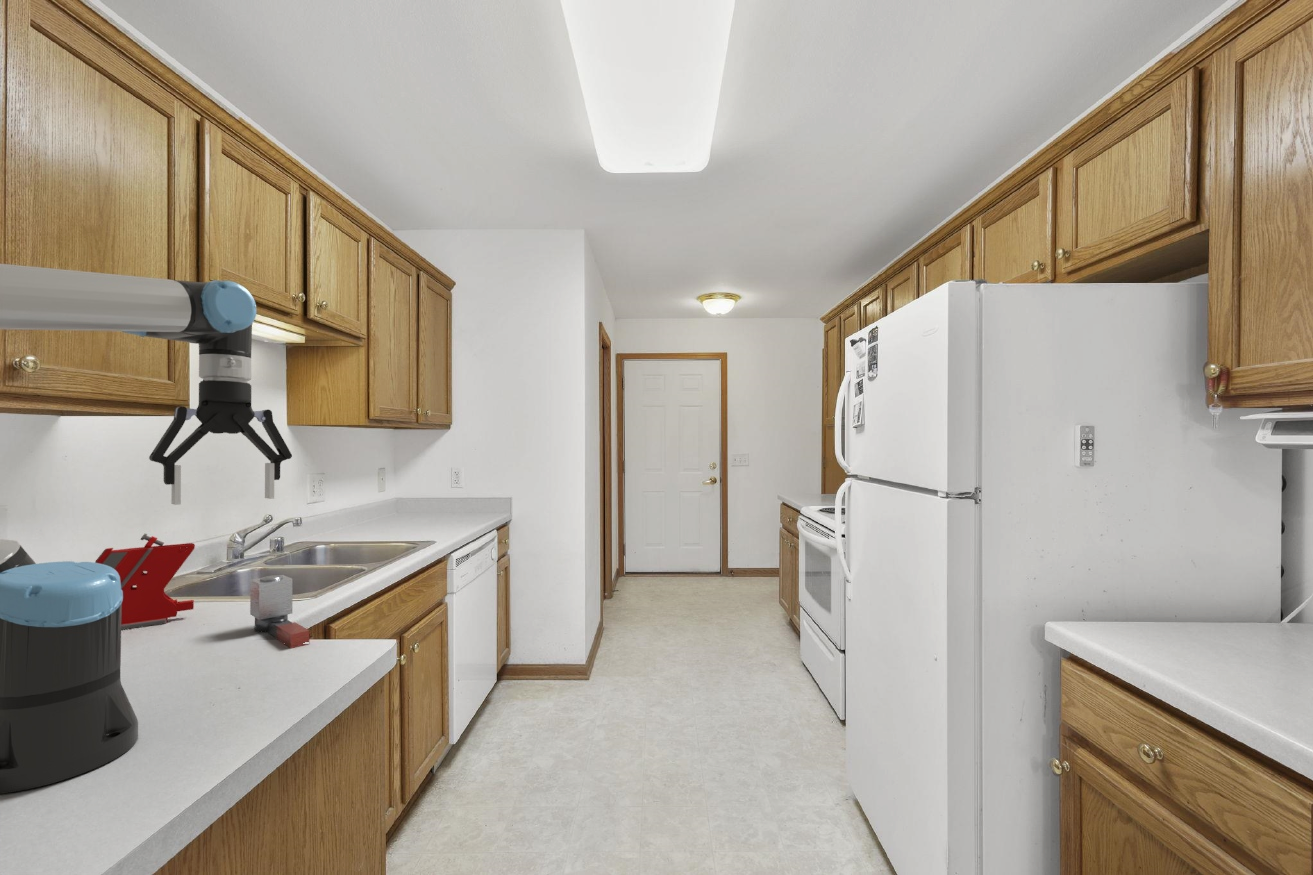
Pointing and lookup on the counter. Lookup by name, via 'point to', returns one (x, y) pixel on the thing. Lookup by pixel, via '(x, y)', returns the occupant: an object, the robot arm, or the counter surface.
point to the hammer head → (270, 596)
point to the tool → (147, 581)
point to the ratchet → (283, 630)
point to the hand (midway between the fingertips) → (225, 501)
